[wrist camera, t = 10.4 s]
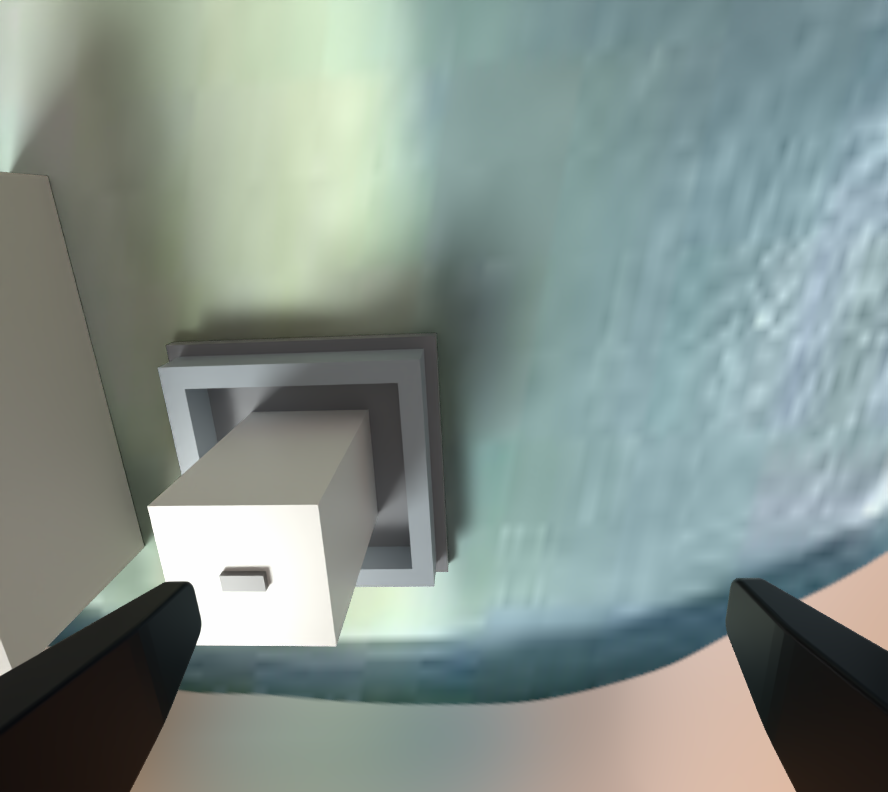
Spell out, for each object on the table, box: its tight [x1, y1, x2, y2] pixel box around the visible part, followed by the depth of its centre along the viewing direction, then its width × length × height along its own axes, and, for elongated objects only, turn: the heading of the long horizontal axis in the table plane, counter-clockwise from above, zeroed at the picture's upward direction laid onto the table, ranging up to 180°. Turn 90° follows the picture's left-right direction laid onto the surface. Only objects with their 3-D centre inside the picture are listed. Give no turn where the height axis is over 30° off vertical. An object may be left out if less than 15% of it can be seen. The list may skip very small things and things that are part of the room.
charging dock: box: [158, 333, 448, 587], centre depth 21 cm, size 10×10×2 cm
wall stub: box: [0, 172, 144, 676], centre depth 18 cm, size 2×15×7 cm, turn 2°
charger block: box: [147, 410, 378, 646], centre depth 18 cm, size 4×4×7 cm
